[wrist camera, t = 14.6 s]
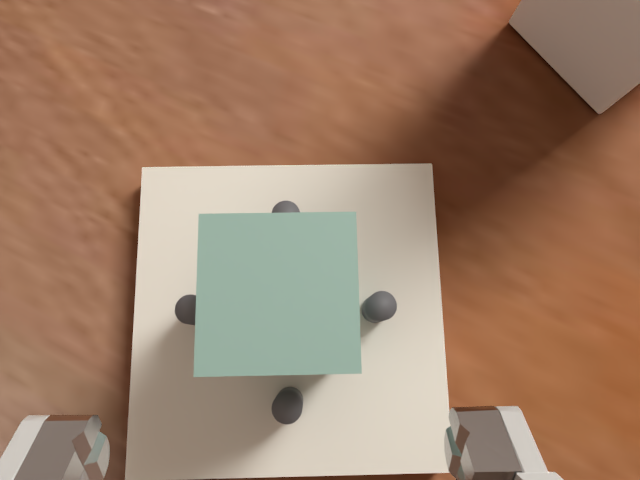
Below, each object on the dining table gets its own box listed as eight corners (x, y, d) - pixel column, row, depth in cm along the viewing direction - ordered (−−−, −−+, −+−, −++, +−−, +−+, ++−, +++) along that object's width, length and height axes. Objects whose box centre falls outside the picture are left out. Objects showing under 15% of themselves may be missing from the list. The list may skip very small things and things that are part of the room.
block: (339, 261, 23) (356, 211, 14) (341, 361, 22) (362, 373, 13) (241, 263, 23) (198, 213, 14) (240, 363, 22) (193, 376, 13)
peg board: (424, 173, 26) (445, 143, 22) (444, 464, 23) (472, 489, 19) (152, 177, 25) (122, 147, 21) (136, 472, 22) (100, 499, 19)
